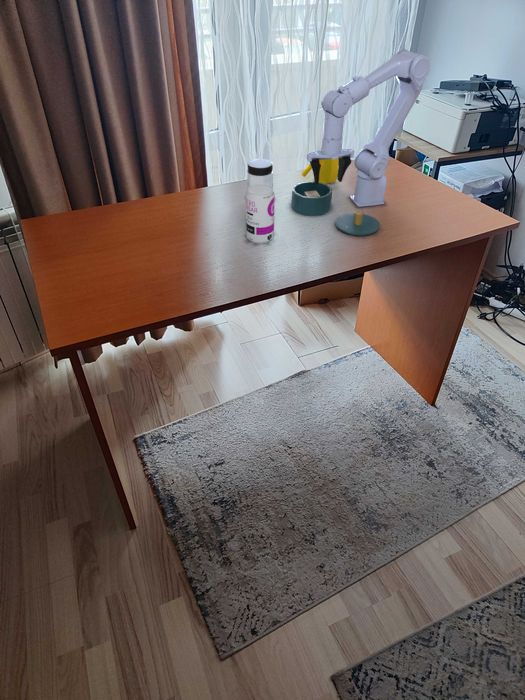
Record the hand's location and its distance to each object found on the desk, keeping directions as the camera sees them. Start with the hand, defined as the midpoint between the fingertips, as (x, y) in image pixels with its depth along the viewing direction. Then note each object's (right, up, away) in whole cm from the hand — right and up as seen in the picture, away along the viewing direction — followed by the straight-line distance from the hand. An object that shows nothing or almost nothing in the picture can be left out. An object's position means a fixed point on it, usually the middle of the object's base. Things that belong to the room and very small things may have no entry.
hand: (328, 181), depth 149 cm
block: (-5, -5, +8) cm, 10 cm away
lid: (+9, -14, -2) cm, 17 cm away
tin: (-5, -6, +8) cm, 11 cm away
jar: (-21, -1, +13) cm, 25 cm away
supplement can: (-21, -20, -7) cm, 30 cm away
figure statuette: (+2, +8, +23) cm, 24 cm away
